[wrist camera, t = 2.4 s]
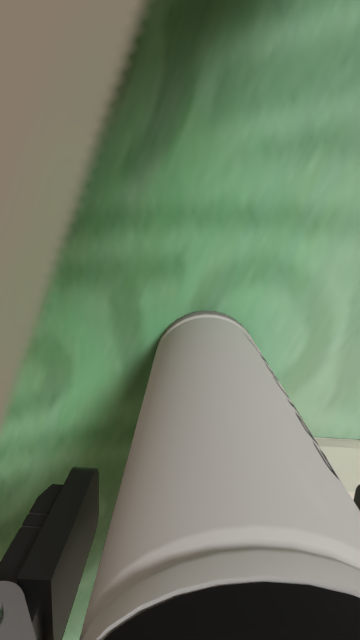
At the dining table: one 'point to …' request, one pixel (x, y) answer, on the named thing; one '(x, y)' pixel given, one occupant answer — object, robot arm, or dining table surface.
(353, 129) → the dining table surface
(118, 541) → the travel mug
